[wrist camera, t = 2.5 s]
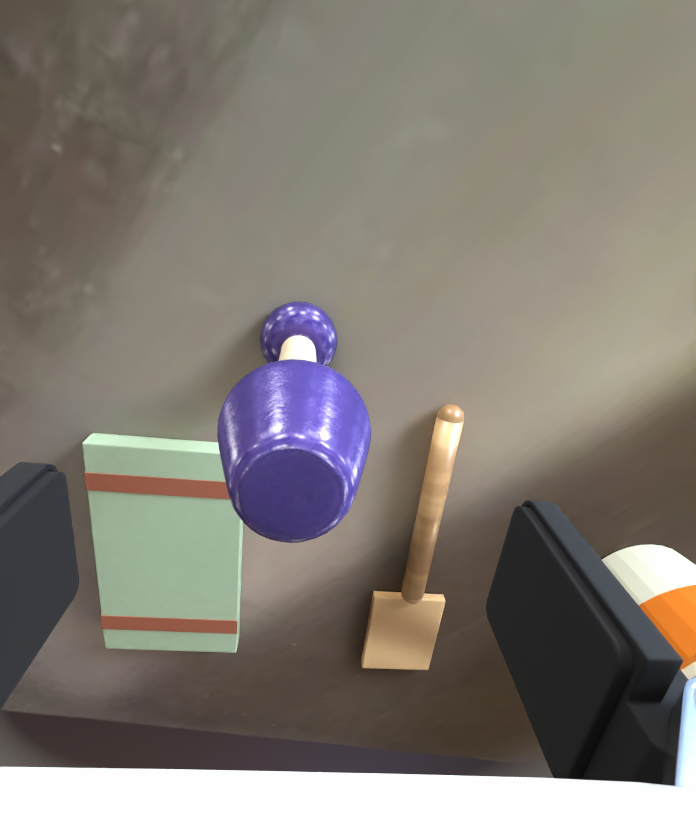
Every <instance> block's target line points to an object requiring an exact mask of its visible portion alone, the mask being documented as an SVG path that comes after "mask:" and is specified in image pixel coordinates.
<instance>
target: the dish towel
mask: <svg viewBox="0 0 696 832" xmlns="http://www.w3.org/2000/svg"><path fill="white" fill-rule="evenodd" d="M82 447H83V456H84V464H85V472H84V477H85V486H86V490H87V491H88V500H89V509H90V518H91V527H92V536H93V544H94V553H95V562H96V571H97V580H98V589H99V598H100V607H101V615H100V617H101V626H102V629H103V633H104V642H105V648H110V649H141V650H171V651H202V652H233V653H235V652H236V651H237V645H238V640H239V624H240V596H241V568H242V541H243V521H242V520H241V519H240V517H239V516H238V514H237V513H236V512H235V510H234V508H233V506H232V503H231V500H230V497H229V494H228V490H227V486H226V481H225V477H224V472H223V467H222V462H221V457H220V452H219V445H218V443H217V442H204V441H191V440H178V439H165V438H151V437H138V436H125V435H112V434H99V433H92V434H91V435H90V436H89V437H88V438H87V439H86V440H85V441H84V442H83V443H82Z"/></svg>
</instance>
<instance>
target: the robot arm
mask: <svg viewBox="0 0 696 832" xmlns="http://www.w3.org/2000/svg"><path fill="white" fill-rule="evenodd" d="M78 584H79V575H78V567H77V559H76V551H75V544H74V536H73V528H72V520H71V512H70V505H69V497H68V489H67V481H66V477H65V475H64V474H63V473H62V472H58V471H57V469H56V467H55V466H54V465H52V464H40V463H27V462H20V463H18V464H16V465H15V466H13V467H12V468H11V469H10V470H8V471H7V472H6V473H5V474H3V475H2V476H1V477H0V710H1V708H2V707H3V705H4V703H5V702H6V700H7V699H8V697H9V696H10V694H11V693H12V691H13V690H14V688H15V687H16V685H17V684H18V682H19V681H20V679H21V678H22V676H23V675H24V673H25V671H26V670H27V668H28V667H29V665H30V664H31V662H32V661H33V659H34V658H35V656H36V655H37V653H38V652H39V650H40V649H41V647H42V646H43V644H44V643H45V641H46V640H47V638H48V636H49V635H50V633H51V632H52V630H53V629H54V627H55V626H56V624H57V623H58V621H59V620H60V618H61V617H62V615H63V614H64V612H65V611H66V609H67V608H68V606H69V604H70V603H71V601H72V600H73V598H74V597H75V595H76V592H77V589H78ZM486 611H487V617H488V620H489V622H490V625H491V627H492V630H493V632H494V635H495V637H496V639H497V642H498V644H499V647H500V649H501V652H502V654H503V656H504V659H505V661H506V664H507V666H508V669H509V671H510V673H511V676H512V678H513V681H514V683H515V686H516V688H517V690H518V693H519V695H520V698H521V700H522V703H523V705H524V707H525V710H526V712H527V715H528V717H529V720H530V722H531V724H532V727H533V729H534V732H535V734H536V737H537V739H538V741H539V744H540V746H541V749H542V751H543V754H544V756H545V758H546V761H547V763H548V766H549V768H550V770H551V773H552V775H553V777H554V778H532V777H531V778H530V777H495V776H494V777H493V776H456V775H454V776H453V775H419V774H416V775H415V774H380V773H336V772H335V773H333V772H289V771H238V770H188V769H187V770H186V769H125V768H123V769H122V768H119V769H118V768H56V767H52V768H51V767H0V832H696V676H695V677H693V678H691V679H690V680H688V678H687V677H686V676H685V675H684V673H683V672H682V671H681V670H680V667H681V665H682V663H683V659H682V658H681V657H680V656H679V655H678V653H677V652H676V651H675V650H674V648H673V647H672V646H671V645H670V643H669V642H668V641H667V640H666V639H665V637H664V636H663V635H662V634H661V632H660V631H659V630H658V629H657V628H656V626H655V625H654V624H653V623H652V621H651V620H650V619H649V618H648V616H647V615H646V614H645V613H644V612H643V610H642V609H641V608H640V607H639V605H638V604H637V603H636V602H635V601H634V599H633V598H632V597H631V596H630V594H629V593H628V592H627V591H626V589H625V588H624V587H623V586H622V585H621V583H620V582H619V581H618V580H617V578H616V577H615V576H614V575H613V574H612V572H611V571H610V570H609V569H608V567H607V566H606V565H605V564H604V562H603V561H602V560H601V559H600V558H599V556H598V555H597V554H596V553H595V551H594V550H593V549H592V548H591V547H590V545H589V544H588V543H587V542H586V540H585V539H584V538H583V537H582V535H581V534H580V533H579V532H578V531H577V529H576V528H575V527H574V526H573V524H572V523H571V522H570V521H569V520H568V518H567V517H566V516H565V515H564V513H563V512H562V511H561V510H560V509H559V507H558V506H557V505H556V504H555V503H553V502H543V501H530V500H527V501H525V502H524V503H523V504H522V506H518V507H516V508H515V509H514V512H513V515H512V518H511V521H510V525H509V528H508V531H507V535H506V538H505V542H504V545H503V548H502V552H501V555H500V558H499V562H498V565H497V568H496V572H495V575H494V578H493V582H492V585H491V589H490V592H489V595H488V599H487V603H486Z"/></svg>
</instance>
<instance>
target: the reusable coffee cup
mask: <svg viewBox="0 0 696 832" xmlns="http://www.w3.org/2000/svg"><path fill="white" fill-rule="evenodd" d="M602 561H603V562H604V564H605V565H606V566H607V567H608V569H609V570H610V571H611V572H612V574H613V575H614V576H615V577H616V578H617V580H618V581H619V582H620V583H621V585H622V586H623V587H624V588H625V589H626V591H627V592H628V593H629V594H630V596H631V597H632V598H633V599H634V601H635V602H636V603H637V604H638V605H639V607H640V608H641V609H642V610H643V612H644V613H645V614H646V615H647V616H648V618H649V619H650V620H651V621H652V623H653V624H654V625H655V626H656V628H657V629H658V630H659V631H660V632H661V634H662V635H663V636H664V637H665V639H666V640H667V641H668V642H669V643H670V645H671V646H672V647H673V648H674V650H675V651H676V652H677V653H678V655H679V656H680V657H681V658H682V659H683V663H682V665H681V667H680V670H681V671H682V672H683V673H684V675H685V676H686V677H687V678H688V680H690V679H691V678H693V677H695V676H696V565H695V564H693V563H692V562H690V561H689V560H688V559H686V558H685V557H683V556H682V555H681V554H679V553H677V552H676V551H674V550H673V549H670V548H667V547H664V546H660V545H652V544H649V545H637V546H632V547H628V548H625V549H622V550H619V551H617V552H614V553H612V554H610V555H609V556H607V557H605V558H603V559H602Z"/></svg>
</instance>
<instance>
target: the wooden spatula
mask: <svg viewBox="0 0 696 832" xmlns="http://www.w3.org/2000/svg"><path fill="white" fill-rule="evenodd" d="M463 422H464V414H463V411H462V410H461V409H460V408H459V407H458V406H456V405H453V404H448V405H445V406H443V407H441V408H440V410H439V411H438V413H437V417H436V422H435V427H434V432H433V437H432V441H431V446H430V451H429V456H428V461H427V466H426V471H425V476H424V481H423V485H422V490H421V495H420V500H419V505H418V510H417V515H416V520H415V525H414V529H413V534H412V539H411V544H410V549H409V554H408V559H407V564H406V569H405V573H404V578H403V583H402V588H401V592H382V591H374V592H373V597H372V602H371V608H370V614H369V619H368V625H367V631H366V636H365V642H364V648H363V653H362V659H361V663H362V668H379V669H412V670H428V668H429V664H430V660H431V656H432V652H433V648H434V644H435V640H436V636H437V632H438V628H439V624H440V620H441V617H442V613H443V609H444V605H445V598H444V595H443V594H425V593H424V592H425V588H426V583H427V579H428V574H429V570H430V566H431V561H432V557H433V553H434V548H435V544H436V540H437V535H438V531H439V527H440V522H441V518H442V513H443V509H444V505H445V500H446V496H447V492H448V487H449V483H450V479H451V474H452V470H453V466H454V461H455V457H456V452H457V448H458V444H459V439H460V435H461V431H462V426H463Z"/></svg>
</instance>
